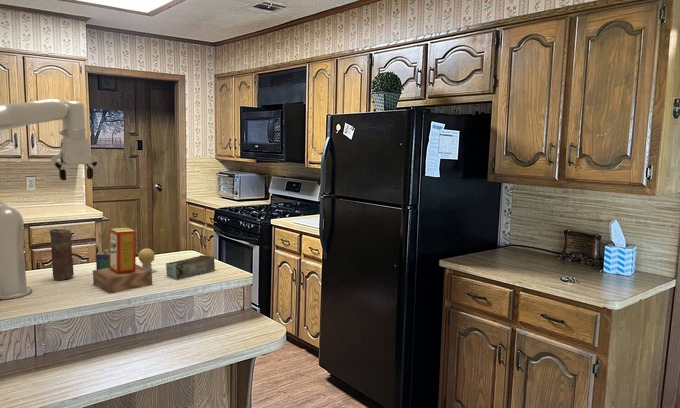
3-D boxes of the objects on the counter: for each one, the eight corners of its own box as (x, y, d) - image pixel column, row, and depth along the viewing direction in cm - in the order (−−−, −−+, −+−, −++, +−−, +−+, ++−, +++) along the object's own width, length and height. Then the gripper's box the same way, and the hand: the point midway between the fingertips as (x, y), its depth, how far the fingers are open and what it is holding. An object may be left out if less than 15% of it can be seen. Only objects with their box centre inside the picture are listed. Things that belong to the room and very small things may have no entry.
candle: (54, 276, 203) (51, 228, 200) (74, 275, 206) (71, 227, 203) (51, 281, 196) (48, 231, 193) (73, 279, 199) (70, 230, 196)
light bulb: (139, 270, 213) (138, 247, 212) (155, 269, 216) (154, 246, 214) (138, 274, 207) (137, 250, 206) (155, 273, 210) (154, 249, 208)
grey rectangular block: (165, 277, 204) (164, 261, 204) (204, 268, 219) (204, 253, 218) (176, 280, 199) (175, 264, 199) (216, 271, 214) (215, 256, 213)
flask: (120, 274, 208) (118, 248, 206) (116, 275, 205) (115, 250, 203) (98, 273, 208) (97, 248, 207) (94, 275, 205) (93, 250, 204)
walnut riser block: (110, 294, 182) (109, 278, 181) (93, 285, 193) (92, 270, 192) (152, 285, 193) (151, 270, 192) (134, 277, 204) (133, 263, 203)
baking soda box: (135, 271, 191) (135, 230, 190) (117, 273, 187) (117, 231, 185) (126, 266, 198) (126, 226, 197) (109, 268, 194) (109, 227, 192)
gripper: (54, 134, 180) (56, 181, 183) (101, 134, 194) (104, 178, 196) (45, 134, 185) (48, 180, 187) (93, 134, 198) (95, 177, 201)
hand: (76, 179), depth 192 cm, fingers open, 9 cm apart
